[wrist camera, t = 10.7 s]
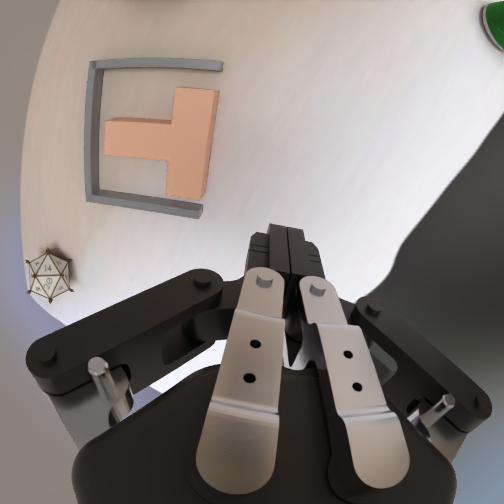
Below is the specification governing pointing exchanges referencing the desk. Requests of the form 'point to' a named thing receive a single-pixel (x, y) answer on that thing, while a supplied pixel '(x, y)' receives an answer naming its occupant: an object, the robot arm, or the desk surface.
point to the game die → (49, 276)
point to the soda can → (495, 22)
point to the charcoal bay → (93, 137)
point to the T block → (172, 140)
